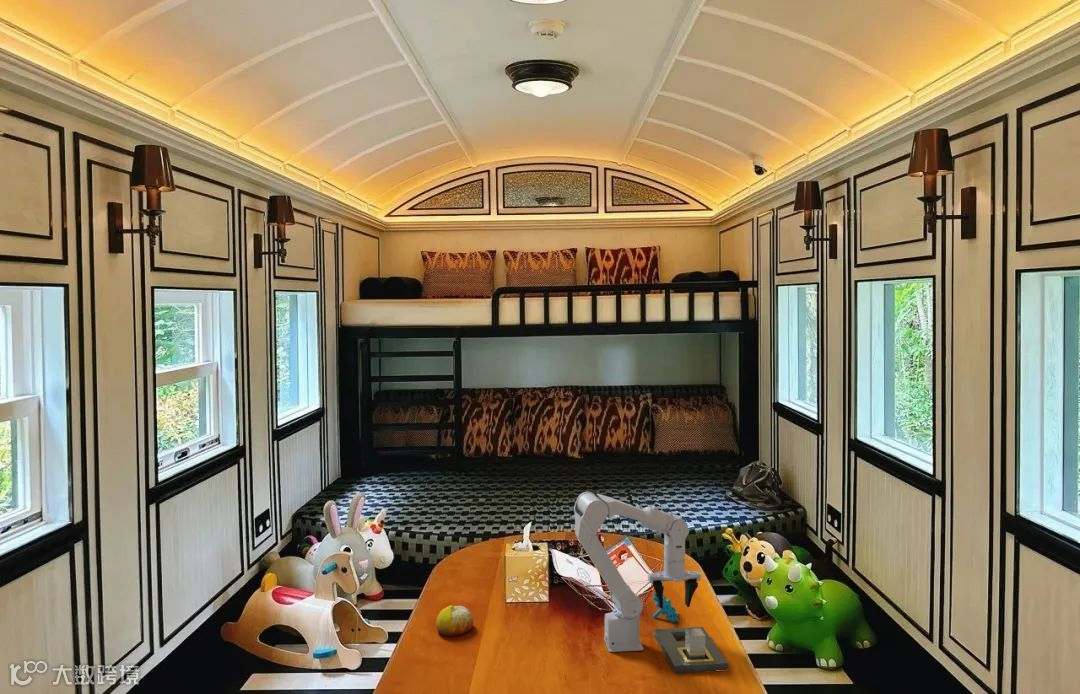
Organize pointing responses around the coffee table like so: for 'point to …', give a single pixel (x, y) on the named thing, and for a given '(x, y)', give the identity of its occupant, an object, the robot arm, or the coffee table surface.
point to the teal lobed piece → (666, 609)
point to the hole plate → (677, 652)
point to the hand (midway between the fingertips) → (674, 606)
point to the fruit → (454, 621)
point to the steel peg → (694, 644)
